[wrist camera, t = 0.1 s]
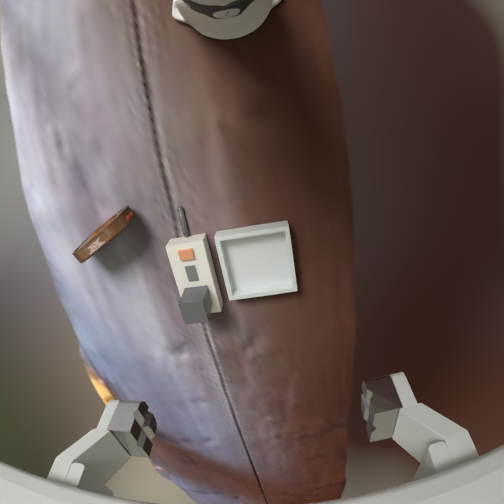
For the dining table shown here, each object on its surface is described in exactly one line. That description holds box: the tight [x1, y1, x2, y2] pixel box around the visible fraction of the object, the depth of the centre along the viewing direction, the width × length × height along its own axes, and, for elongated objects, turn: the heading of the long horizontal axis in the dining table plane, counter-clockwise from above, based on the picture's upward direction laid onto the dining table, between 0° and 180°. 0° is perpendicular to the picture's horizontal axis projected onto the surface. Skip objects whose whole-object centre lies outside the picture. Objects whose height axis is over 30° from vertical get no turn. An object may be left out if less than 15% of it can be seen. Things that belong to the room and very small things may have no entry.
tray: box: [214, 220, 297, 300], centre depth 60 cm, size 13×13×3 cm
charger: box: [179, 285, 212, 324], centre depth 59 cm, size 4×4×7 cm
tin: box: [73, 206, 135, 263], centre depth 56 cm, size 15×3×8 cm, turn 123°
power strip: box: [165, 206, 223, 313], centre depth 60 cm, size 21×7×4 cm, turn 10°
